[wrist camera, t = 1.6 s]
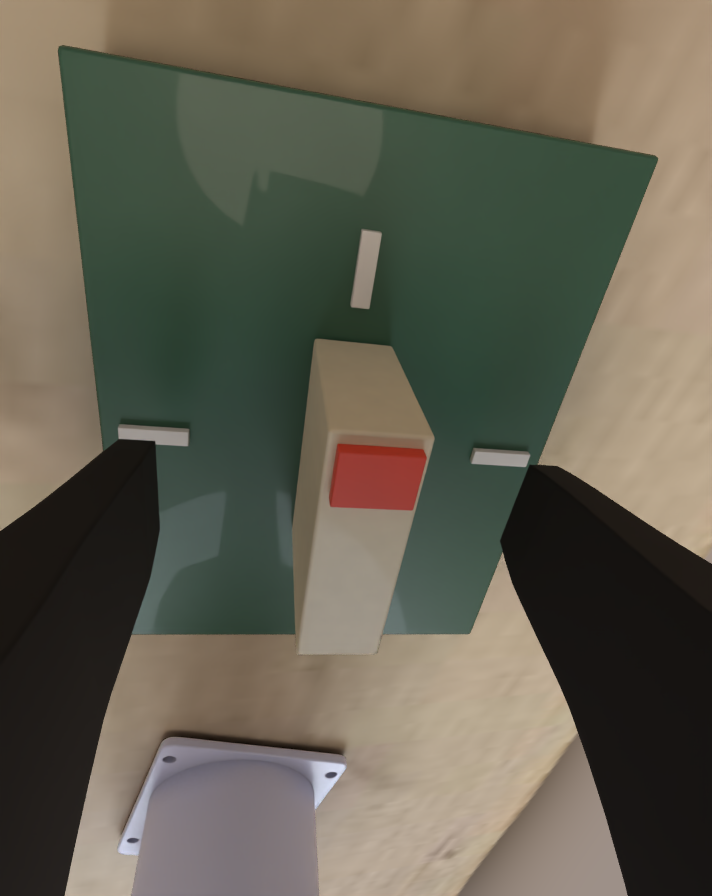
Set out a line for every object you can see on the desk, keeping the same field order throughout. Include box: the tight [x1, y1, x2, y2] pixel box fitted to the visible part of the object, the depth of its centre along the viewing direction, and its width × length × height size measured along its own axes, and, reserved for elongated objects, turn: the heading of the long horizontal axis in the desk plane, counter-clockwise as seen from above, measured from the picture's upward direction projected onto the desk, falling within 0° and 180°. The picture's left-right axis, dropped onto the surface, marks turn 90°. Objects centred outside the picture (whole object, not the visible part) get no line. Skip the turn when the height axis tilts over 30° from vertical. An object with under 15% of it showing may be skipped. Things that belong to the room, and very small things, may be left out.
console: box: [58, 45, 658, 634], centre depth 13 cm, size 13×10×3 cm
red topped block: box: [292, 339, 435, 655], centre depth 10 cm, size 5×2×4 cm, turn 171°
